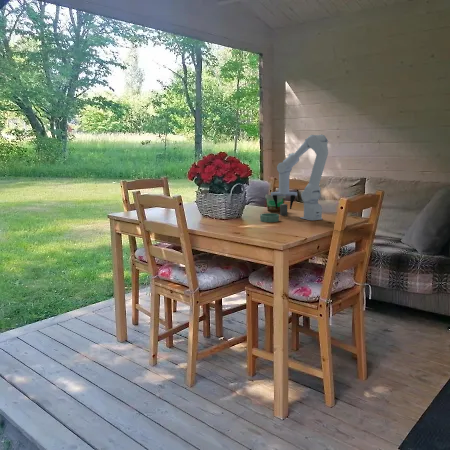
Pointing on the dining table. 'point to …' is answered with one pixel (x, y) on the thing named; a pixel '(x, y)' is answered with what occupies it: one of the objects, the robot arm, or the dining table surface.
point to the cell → (283, 209)
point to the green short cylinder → (269, 217)
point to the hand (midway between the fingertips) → (283, 208)
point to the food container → (271, 203)
